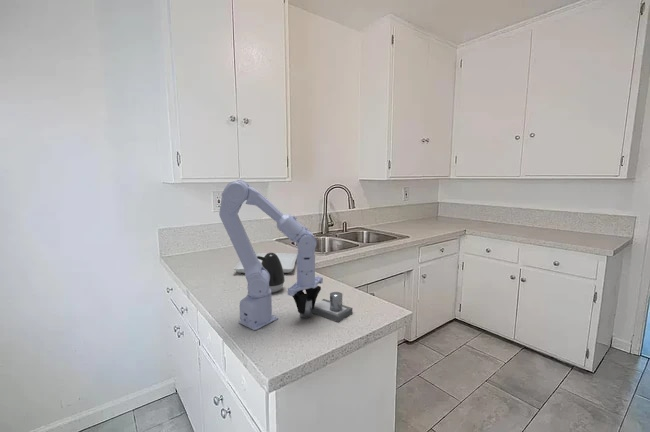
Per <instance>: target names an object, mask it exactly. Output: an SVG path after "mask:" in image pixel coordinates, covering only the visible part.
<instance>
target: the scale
mask: <svg viewBox="0 0 650 432" xmlns="http://www.w3.org/2000/svg"><path fill="white" fill-rule="evenodd" d="M312 314H314V315H317V316H320V317H323V318H326V319H328V320H331V321H333V322H336V323H339V322H341V321H343V320H344V319H345V318H347V317H349V316H350V315H352V314H353V307H350V306H349V305H348V306H347V305H345V304H342V310H341V311H339V312H334V311H331V310H330V299H325V298H322V299H321V300H319V301H316V302H315V306H314V309H312Z"/></svg>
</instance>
